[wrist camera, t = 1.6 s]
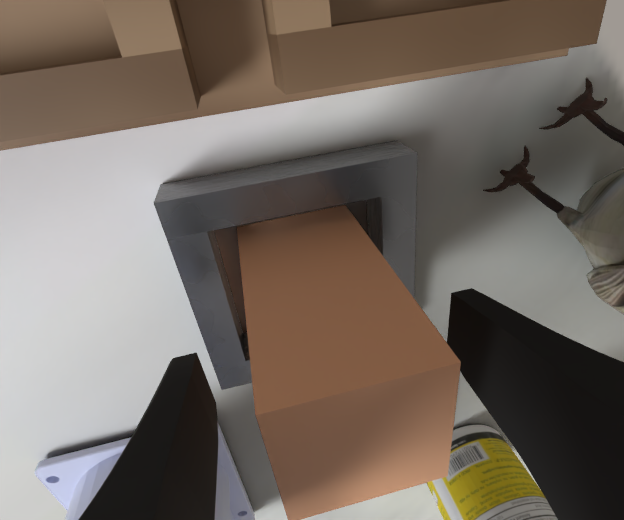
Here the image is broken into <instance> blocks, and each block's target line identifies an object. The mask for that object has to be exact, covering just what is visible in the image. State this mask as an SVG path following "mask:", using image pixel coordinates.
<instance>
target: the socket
mask: <svg viewBox="0 0 624 520" xmlns="http://www.w3.org/2000/svg"><path fill="white" fill-rule="evenodd" d="M416 195H417V152H415V151H413V150H412V149H410V148H409V147H407V146H405V145H404V144H402V143H400V142H399V141H392V142H387V143H381V144H376V145H370V146H365V147H360V148H354V149H349V150H343V151H338V152H333V153H327V154H322V155H316V156H311V157H306V158H300V159H295V160H290V161H284V162H279V163H273V164H268V165H263V166H257V167H252V168H246V169H241V170H236V171H230V172H225V173H219V174H214V175H209V176H203V177H198V178H192V179H187V180H182V181H176V182H171V183H165V184H161V185H160V187H159V190H158V193H157V196H156V198H155V201H154V205H155V208H156V210H157V213H158V216H159V219H160V221H161V224H162V227H163V230H164V232H165V235H166V238H167V241H168V243H169V246H170V249H171V252H172V254H173V257H174V260H175V263H176V265H177V268H178V271H179V274H180V276H181V279H182V282H183V285H184V287H185V290H186V293H187V296H188V298H189V301H190V304H191V307H192V309H193V312H194V315H195V318H196V320H197V323H198V326H199V329H200V331H201V334H202V337H203V340H204V342H205V345H206V348H207V351H208V353H209V356H210V359H211V362H212V364H213V367H214V370H215V373H216V375H217V378H218V381H219V384H220V386H221V389H222V390H223V389H227V388H231V387H235V386H239V385H243V384H247V383H251V382H252V375H251V365H250V355H249V345H248V335H247V333H243V331H242V328H241V324H240V321H239V317H238V314H237V310H236V307H235V303H234V300H233V296H232V293H231V289H230V286H229V282H228V279H227V275H226V272H225V268H224V265H223V262H222V258H221V255H220V251H219V248H218V244H217V241H216V237H215V234H214V230H217V229H222V228H227V227H232V226H237V225H242V224H247V223H252V222H257V221H262V220H267V219H272V218H277V217H282V216H287V215H292V214H297V213H302V212H307V211H312V210H317V209H322V208H327V207H332V206H337V205H342V204H346V203H351V202H356V201H361V200H367V220H368V236H369V238H370V239H371V241H372V242H373V243H374V245H375V246H376V247H377V249H378V250H379V251H380V253H381V254H382V255H383V257H384V258H385V260H386V261H387V262H388V264H389V265H390V266H391V268H392V269H393V270H394V272H395V273H396V275H397V276H398V277H399V279H400V280H401V281H402V283H403V284H404V285H405V287H406V288H407V290H408V291H409V292H410V294H411V295H412V296H413V298H414V285H415V240H416Z"/></svg>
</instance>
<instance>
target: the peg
mask: <svg viewBox="0 0 624 520" xmlns="http://www.w3.org/2000/svg"><path fill="white" fill-rule="evenodd" d="M237 236H238V246H239V256H240V266H241V276H242V286H243V296H244V306H245V315H246V325H247V335H248V345H249V355H250V365H251V375H252V385H253V395H254V405H255V415H256V418H257V422H258V425H259V428H260V431H261V434H262V438H263V441H264V444H265V447H266V450H267V454H268V457H269V460H270V463H271V466H272V470H273V473H274V476H275V479H276V482H277V486H278V489H279V492H280V495H281V499H282V502H283V505H284V508H285V511H286V515H287V518H288V520H300V519H304V518H307V517H311V516H314V515H317V514H321V513H324V512H328V511H331V510H334V509H338V508H341V507H345V506H348V505H351V504H355V503H358V502H362V501H365V500H369V499H372V498H375V497H379V496H382V495H386V494H389V493H392V492H396V491H399V490H403V489H406V488H409V487H413V486H416V485H420V484H423V483H427V482H430V481H433V480H437V479H440V478H444V477H447V476H448V470H449V461H450V452H451V444H452V435H453V426H454V418H455V409H456V400H457V392H458V383H459V374H460V366H461V362H460V360H459V359H458V358H457V356H456V355H455V354H454V352H453V351H452V349H451V348H450V347H449V345H448V344H447V343H446V341H445V340H444V339H443V337H442V336H441V334H440V333H439V332H438V330H437V329H436V328H435V326H434V325H433V324H432V322H431V321H430V319H429V318H428V317H427V315H426V314H425V313H424V311H423V310H422V309H421V307H420V306H419V304H418V303H417V302H416V300H415V299H414V298H413V296H412V295H411V294H410V292H409V291H408V290H407V288H406V287H405V285H404V284H403V283H402V281H401V280H400V279H399V277H398V276H397V275H396V273H395V272H394V270H393V269H392V268H391V266H390V265H389V264H388V262H387V261H386V260H385V258H384V257H383V255H382V254H381V253H380V251H379V250H378V249H377V247H376V246H375V245H374V243H373V242H372V241H371V239H370V238H369V236H368V235H367V234H366V232H365V231H364V230H363V228H362V227H361V226H360V224H359V223H358V221H357V220H356V219H355V217H354V216H353V215H352V213H351V212H350V211H349V209H348V208H347V206H346V205H342V206H337V207H332V208H327V209H322V210H317V211H312V212H307V213H302V214H297V215H292V216H287V217H282V218H277V219H272V220H267V221H262V222H257V223H252V224H247V225H242V226H238V227H237Z"/></svg>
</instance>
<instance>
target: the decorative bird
mask: <svg viewBox="0 0 624 520" xmlns="http://www.w3.org/2000/svg"><path fill="white" fill-rule="evenodd" d="M592 93H593V87H592V84H591V82H590V81H589V80H588V78H586V90H585V92H584V94H582V95H580V96H579V97H578V98H576V99H575V100H574V101H573V102H572V103H571V104H570V106H568V107H558V108H557V110H559V111H560V112H563V113H564V115H563V116H562V117H561V118H560V119H559V120H558V121H557V122H556V123H555V124H552V125H549V126H547V127H542V128H539V129H552V128H556V127H560V126H562V125H563V124H565V123H567V122H568V121H569V120H571V119H572V118H575V117H577V116H579V115H581V114H583V115H584V116H585V117H586V118H587V119H588V120H589V121H591V122H592V123H593V124H594V125H595V126H596V127H597V128H598V129H600V130H601V131H602V132H603V133H605V134H606V135H607V136H609V137H610V138H611V139H613V140H615V141H617V142H619V143H621V144H622V145H623V146H624V132H622V131H620V130H618V129H617V128H615V127H613V126H611V125H609V124H608V123H606V122H605V121H604V120H603V119H602V118H601V117H600V116H599V115H598V114H597V113H595V112H594V111H593V110H598V109H600V108H602V107H603V106H604V105H605V104H606V103H607V98H605V99H604V101H596V100H594V98H593V97H592ZM528 163H529V151H528V149H527V147H526V146H525V147H524V159H523V160H522V161H521V163H519V164H517V165H516V166H515V167H513V168H512V169H511V170H510V171H506V170H501V171H500V173H501V174H502V175H503V176H504V177H505V178H504V180H503V182H502V183H501V184H499V185H498V186H497V187H496V188H492V189H486V190H483V191H487V192H498V191H502V190H504V189H506V188H507V187H508V186H512V185H516V184H517V183H519V184H520V185H521V186H523V187H524V188H525V189H526V190H527V191H529V192H530V193H531V194H532V195H534V196H535V197H536V198H537V199H538V200H540V201H541V202H542V203H543V204H544V205H546V206H547V207H549V208H550V209H552V210H553V211H555V212H556V213H557V216H558V218H559V219H560V220H561V221H562V222H563V224H564V225H565V226H566V227H567V228H568V229H569V230H570V231H571V232H572V233H573V234H574V236H575V237H576V238H577V239H578V241H579V242H580V243H581V244H582V246H583V247H584V248H585V250H586V254H587V256H588V258H589V260H590V262H591V264H592V266H593V268H594V269H593V270H592V271H591V272H589V273H588V274H587V278H588V282H589V283H590V285H591V287H592V289H593V290H594V291H595V293H596V294H597V296H598V297H599V298H600V299H602V300H603V301H604V302H606V303H607V304H609V305H610V306H612V307H613V308H615V309H616V310H618V311H619V312H621V313H622V314H624V169H622V170H619V171H617V172H615V173H613V174H611V175H608V176H607V177H605V178H603V179H601V180H600V181H598V182H596V183H595V184H594V185H593V186H592V187H591V188H590V189H589V190H588V191H587V192H586V193H585V194H584V195H583V197H582V198H581V199H580V201H579V205H578V209H577V210H574V209H572V208H570V207H566V206H563V205H562V204H561V203H560V202H558V201H556V200H555V199H553V198H552V197H550V196H549V195H547V194H546V193H544V192H542V191H541V190H540V189H539V188H537V187H536V186H535V185H534V184H533V183H532V181H533V180H534V178H535V176H532V175H530V174H528V173H527V172H528V170H527V168H526V167H527V166H528Z"/></svg>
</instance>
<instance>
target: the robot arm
mask: <svg viewBox="0 0 624 520" xmlns="http://www.w3.org/2000/svg"><path fill="white" fill-rule="evenodd" d="M447 344H448V345H449V347H450V348H451V349H452V351H453V352H454V354H455V355H456V356H457V358H458V359H459V360H460V362H461V366H460V371H461V373H462V374H463V376H464V378H465V379H466V381H467V382H468V384H469V385H470V386H471V388H472V389H473V391H474V392H475V393H476V395H477V396H478V398H479V399H480V400H481V402H482V403H483V405H484V406H485V407H486V409H487V410H488V411H489V413H490V414H491V416H492V417H493V418H494V420H495V421H496V422H497V424H498V425H499V427H500V428H501V429H502V431H503V432H504V433H505V435H506V436H507V438H508V439H509V440H510V442H511V443H512V444H513V446H514V447H515V449H516V450H517V452H518V453H519V455H520V456H521V458H522V459H523V461H524V462H525V464H526V466H527V467H528V469H529V471H530V472H531V474H532V476H533V478H534V479H535V481H536V483H537V484H538V486H539V488H540V489H541V491H542V493H543V494H544V496H545V498H546V500H547V501H548V503H549V505H550V507H551V508H552V510H553V512H554V514H555V516H556V517H557V519H558V520H624V362H621V361H619V360H616V359H614V358H611V357H609V356H607V355H604V354H602V353H600V352H597V351H595V350H593V349H591V348H589V347H586V346H584V345H582V344H580V343H578V342H575V341H573V340H571V339H569V338H567V337H565V336H563V335H561V334H559V333H557V332H555V331H552V330H550V329H549V328H547V327H545V326H543V325H541V324H539V323H537V322H535V321H533V320H531V319H529V318H527V317H525V316H523V315H521V314H520V313H518V312H516V311H514V310H512V309H510V308H508V307H506V306H505V305H503V304H501V303H499V302H497V301H495V300H493V299H491V298H490V297H488V296H486V295H484V294H482V293H480V292H478V291H476V290H474V289H472V288H471V289H467V290H462V291H458V292H454V293H451V304H450V316H449V327H448V338H447ZM35 475H36V476H37V478H38V479H39V480H40V481H41V482H42V483H43V484H44V485H45V486H46V488H47V489H48V490H49V491H50V492H51V493H52V494H53V495H54V496H55V498H56V499H57V500H58V501H59V502H60V503H61V504H62V505H63V507H64V508H65V509H66V510H67V514H66V517H65V520H255V514H254V511H253V509H252V506H251V504H250V501H249V499H248V496H247V493H246V491H245V488H244V486H243V483H242V481H241V478H240V476H239V473H238V471H237V468H236V466H235V463H234V461H233V458H232V456H231V453H230V451H229V448H228V446H227V443H226V441H225V438H224V436H223V433H222V431H221V428H220V426H219V423H218V422H217V409H216V402H215V399H214V397H213V394H212V391H211V389H210V386H209V384H208V381H207V379H206V376H205V373H204V371H203V368H202V366H201V363H200V360H199V358H198V355H197V353H193V354H189V355H185V356H180V357H176V358H173V359H172V361H171V362H170V364H169V366H168V368H167V370H166V372H165V374H164V376H163V378H162V380H161V382H160V384H159V386H158V388H157V390H156V392H155V394H154V396H153V398H152V400H151V402H150V404H149V406H148V408H147V410H146V412H145V413H144V415H143V417H142V419H141V421H140V423H139V424H138V426H137V428H136V430H135V432H134V433H133V435H132V437H130V438H126V439H122V440H119V441H115V442H111V443H107V444H103V445H99V446H95V447H91V448H87V449H83V450H79V451H76V452H72V453H68V454H64V455H60V456H56V457H52V458H48V459H45V460H42V461H40V462H39V463H38V465H37V467H36V469H35Z"/></svg>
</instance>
